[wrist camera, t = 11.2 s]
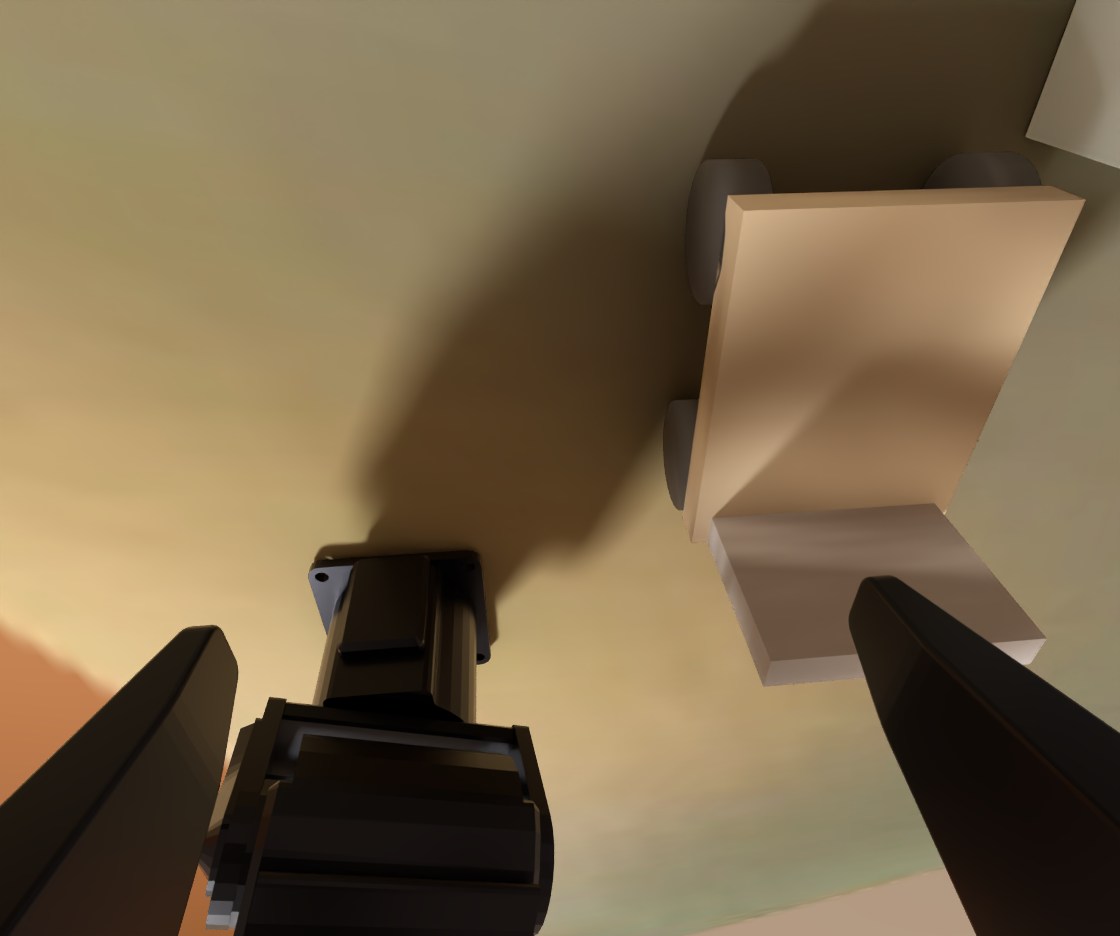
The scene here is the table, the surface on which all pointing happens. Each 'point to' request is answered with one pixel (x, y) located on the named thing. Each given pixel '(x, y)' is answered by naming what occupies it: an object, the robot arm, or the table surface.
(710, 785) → the table surface
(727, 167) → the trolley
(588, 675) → the table surface
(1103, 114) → the tray
